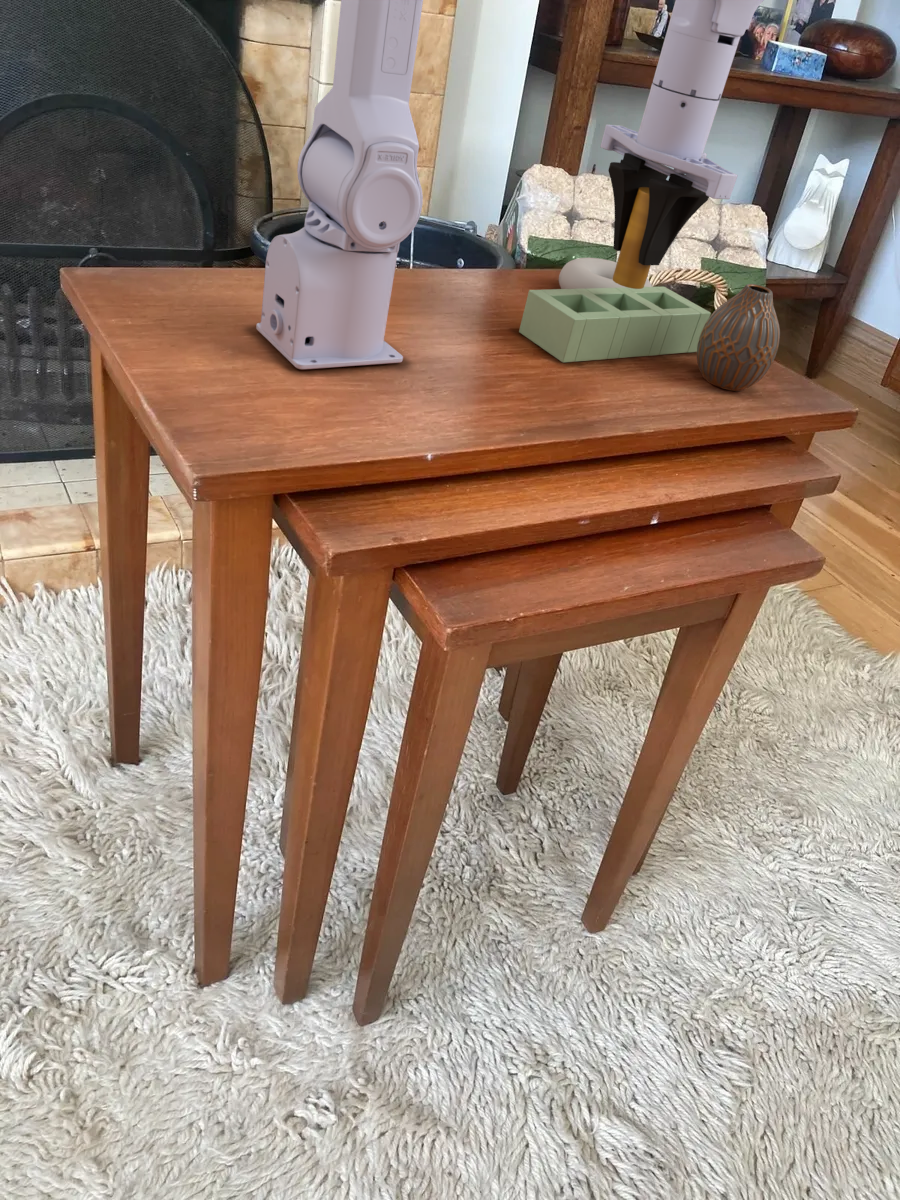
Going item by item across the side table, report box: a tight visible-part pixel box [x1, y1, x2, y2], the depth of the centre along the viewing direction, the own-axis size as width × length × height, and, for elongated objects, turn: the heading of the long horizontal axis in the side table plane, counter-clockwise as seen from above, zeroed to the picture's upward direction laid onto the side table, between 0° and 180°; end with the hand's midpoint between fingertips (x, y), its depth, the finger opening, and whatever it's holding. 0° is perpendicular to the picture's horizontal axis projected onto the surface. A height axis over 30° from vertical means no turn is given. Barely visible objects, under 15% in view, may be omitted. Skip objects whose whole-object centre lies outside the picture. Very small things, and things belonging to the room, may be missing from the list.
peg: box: [612, 187, 652, 289], centre depth 86 cm, size 3×3×8 cm
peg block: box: [518, 286, 712, 364], centre depth 91 cm, size 17×7×4 cm, turn 123°
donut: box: [558, 257, 653, 289], centre depth 100 cm, size 10×4×10 cm
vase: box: [696, 283, 781, 392], centre depth 87 cm, size 7×7×9 cm
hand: (636, 257), depth 87 cm, fingers closed on peg, 3 cm apart
